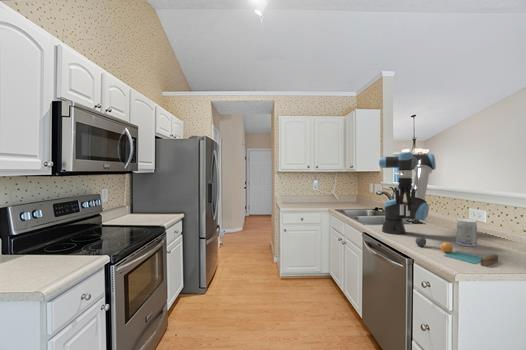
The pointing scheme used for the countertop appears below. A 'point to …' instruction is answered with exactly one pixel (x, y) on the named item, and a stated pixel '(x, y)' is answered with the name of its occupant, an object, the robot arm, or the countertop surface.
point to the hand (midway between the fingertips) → (404, 215)
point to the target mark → (465, 257)
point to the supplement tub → (467, 232)
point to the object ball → (446, 247)
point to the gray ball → (420, 241)
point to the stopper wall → (489, 260)
